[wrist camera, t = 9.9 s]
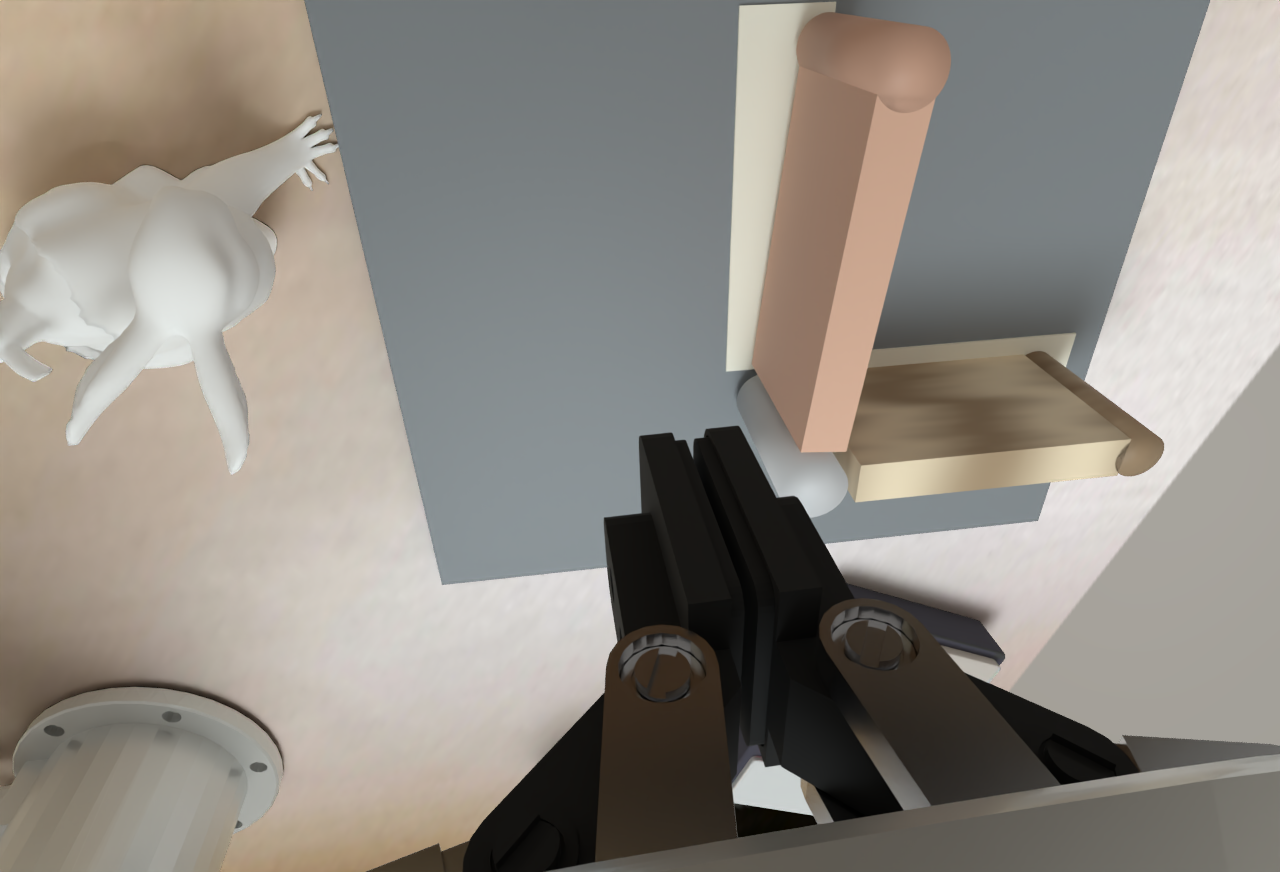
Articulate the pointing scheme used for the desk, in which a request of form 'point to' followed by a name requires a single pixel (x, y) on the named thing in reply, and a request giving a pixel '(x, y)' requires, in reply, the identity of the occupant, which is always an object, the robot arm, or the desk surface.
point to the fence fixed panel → (986, 429)
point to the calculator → (951, 632)
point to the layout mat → (704, 230)
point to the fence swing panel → (836, 240)
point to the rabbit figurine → (149, 276)
